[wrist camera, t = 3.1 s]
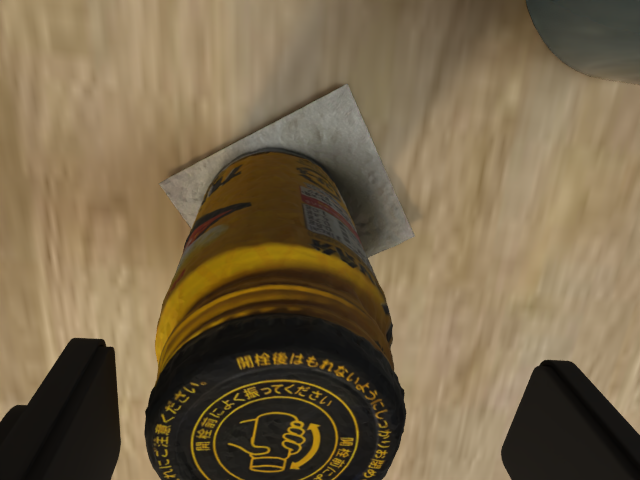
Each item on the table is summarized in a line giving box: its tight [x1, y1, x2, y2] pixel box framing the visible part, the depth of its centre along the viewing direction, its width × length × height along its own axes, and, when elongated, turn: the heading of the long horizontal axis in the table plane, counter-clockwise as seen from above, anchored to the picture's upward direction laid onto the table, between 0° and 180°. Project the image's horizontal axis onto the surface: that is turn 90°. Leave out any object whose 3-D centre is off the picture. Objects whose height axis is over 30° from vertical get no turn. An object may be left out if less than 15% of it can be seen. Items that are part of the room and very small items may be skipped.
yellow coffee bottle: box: [145, 84, 415, 480], centre depth 14 cm, size 7×8×12 cm
